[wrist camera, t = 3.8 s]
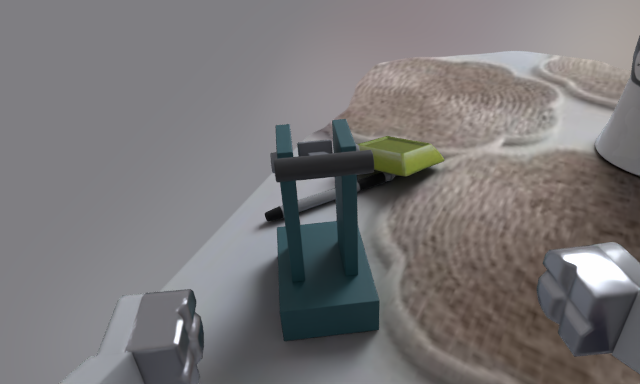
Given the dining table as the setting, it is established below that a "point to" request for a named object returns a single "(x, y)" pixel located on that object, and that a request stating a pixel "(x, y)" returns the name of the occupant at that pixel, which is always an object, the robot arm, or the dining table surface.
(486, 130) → the dining table surface
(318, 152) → the lever
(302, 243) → the teal axle stand
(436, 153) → the saucer
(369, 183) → the pen
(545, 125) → the dining table surface
